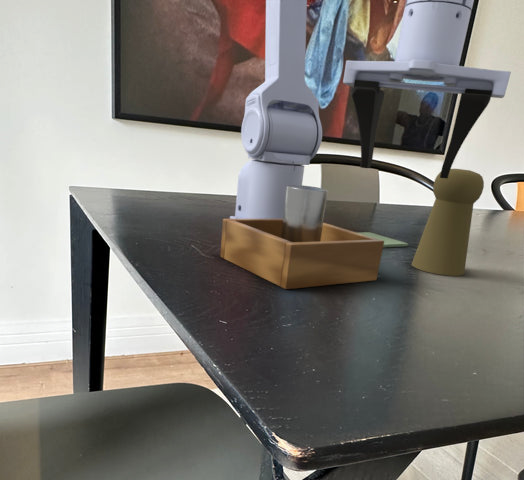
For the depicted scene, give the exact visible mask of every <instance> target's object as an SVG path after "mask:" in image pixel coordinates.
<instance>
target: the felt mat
mask: <svg viewBox="0 0 524 480" xmlns="http://www.w3.org/2000/svg"><path fill="white" fill-rule="evenodd" d="M358 233H360V234H363V235H366V236H369V237H373V238H376V239H379V240H383V241H384V245H383V249H384V248H399V247H408V246H409V243H407V242H405V241H401V240H398V239H394V238H390V237H387V236H384V235H380V234H377V233H374V232H370V231H364V232H362V231H361V232H358Z"/></svg>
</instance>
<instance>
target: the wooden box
mask: <svg viewBox="0 0 524 480" xmlns="http://www.w3.org/2000/svg"><path fill="white" fill-rule="evenodd" d="M282 224H283V218H282V219H230V218H223V219H222V228H221V239H220V240H221V242H220V254H219V255H220V258H222V259H224V260H226V261H227V262H230V263H232V264H234V265H236V266H238V267H240V268H242V269H244V270H245V271H247V272H250V273H251V274H253V275H256V276H258V277H260V278H262V279H264V280H266V281H267V282H270V283H272V284H274V285H276V286H278V287H280V288H281V289H284V290H294V289H303V288H313V287H323V286H332V285H333V286H334V285H343V284H351V283H363V282H372V281H373V282H374V281H377V279H378V274H379V269H380V264H381V259H382V255H383V249H384V248H383V245H384V241H383V240H379V239H376V238H373V237H369V236H366V235H363V234H360V233H359V232H357V231H353V230H349V229H347V228H343V227H339V226H336V225H334V224H330V223H326V222H323V228H322V235H321V241H320V242H293V243H292V242H290V241H287V240H285V239H282V238H281V233H282Z"/></svg>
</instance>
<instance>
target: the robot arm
mask: <svg viewBox="0 0 524 480" xmlns="http://www.w3.org/2000/svg"><path fill="white" fill-rule="evenodd" d="M474 3H475V0H405V5H404V8H403V9H404V10H403V15H402V20H401V25H400V31H399V35H398V36H399V37H398V41H397V42H398V43H397V48H396V53H395V58H394V61H392V60H391V61H390V60H389V61H387V60H386V61H384V60H383V61H382V60H381V61H379V60H377V61H376V60H348V59H347V60H346V61H345V66H344V67H345V68H344V74H343V81H342V83H343V84H344V85H346V86H348V87H349V86H350V87H351V89H350V92H351V98H352V101H353V105H354V110H355V114H356V119H357V125H358V131H359V139H360V168H362V169H371V167H372V163H373V158H374V150H375V143H376V142H375V141H376V134H377V129H378V124H379V120H380V116H381V110H382V106H383V103H384V98H385V94H386V92H385V91H384V90H381V88H384V89H397V90H410V91H421V92H433V93H446V94H459V95H460V99H459V103H458V107H457V111H456V115H455V120H454V125H453V129H452V134H451V138H450V141H449V144H448V148H447V150H446V153H445V157H444V160H443V163H442V166H441V170H440V172H441V174H440V178H446V179H447V178H448V175H449V172H450V169H452V166H453V164H454V162H455V159H456V157H457V156H458V153H459V151H460V150H461V147H462V146H463V144H464V143H465V140H466V138H467V137H468V136H469V134H470V132H471V131H472V129H473V127H474V126H475V124H476V123H477V121H478V119H479V118H480V117H481V115H482V114H483V113H484V111H485V110H486V108H487V107H488V105H489V104H490V102H491V98H493V99H494V98H495V99H503V98H504V97H506V96H505V95H506V92H507V88H508V84H509V81H510V77H511V73H512V72H511V71H509V70H496V69H487V68H478V67H470V66H463V65H460V62H461V58H462V54H463V50H464V45H465V41H466V37H467V32H468V28H469V23H470V19H471V15H472V11H473V7H474ZM307 8H308V0H265V42H264V43H265V48H264V49H265V51H264V52H265V56H264V57H265V58H264V82H263V83H261V84H260V85H259V86H258V87H256V88H254V89H253V90H252V91H251V92H250V93H249V94H248V96H247V97H246V98H245V107H244V114H243V119H242V123H241V129H240V136H241V143H242V147H243V148H244V150H245V152H246V153H247V159H249V160H248V161H246V162H245V164H243V165H242V167H241V168H240V170H239V173H238V176H237V186H236V200H235V211H234V215H230V216H229V219H282V218H283V216H284V207H285V199H286V190H287V185H303V181H304V173H305V166H309V165H310V162H311V160H312V159H314V158H315V156H316V155H317V153H318V151H319V149H320V147H321V145H322V142H323V141H322V140H323V127H322V122H321V119H320V111H319V110H320V109H319V108H320V102H319V99H318V98H317V97H316V95H315V94H314V93H313V91H312V90H311V89H310V88H309V86H308V85H307V84H306V81H305V77H306V48H307V47H306V46H307V45H306V43H307V41H306V40H307V16H308V15H307V13H308V9H307ZM404 80H411V81H419V82H431V83H432V82H433V83H434V82H435V83H443V85H439V84H427V83H413V82H403V81H404ZM250 159H251V160H250Z"/></svg>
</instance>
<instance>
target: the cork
mask: <svg viewBox="0 0 524 480" xmlns="http://www.w3.org/2000/svg"><path fill="white" fill-rule="evenodd" d="M440 174H441V171H440V172H439V173H438V174H437V175H436V177H435V178H434V181H433V186H432V191H433V195H434V197H435V200H434V201H433V205H432V207H431V210H430V214H429V216H428V219H427V221H426V224H425V226H424V229H423V233H422V235H421V237H420V240H419V242H418V245H417V249H416V250H415V253H414V256H413V260H412V262H411V266H412V267H413V268H415V269H417V270H420V271H422V272H426V273H431V274H435V275H440V276H450V277H459V276H463V275H465V271H466V264H467V257H468V256H467V255H468V248H469V241H470V234H471V233H470V232H471V226H472V219H473V211H474V204H475V203H476V202H477V201H478V200H479V199H480V198H481V196H482V194H483V192H484V188H485V181H484V178H483V176H482V175H481V174H480V173H478V172H476V171H473V170H471V169H462V168H451V169H450V172H449V175H448V178H447V179H446V178H440Z"/></svg>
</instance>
